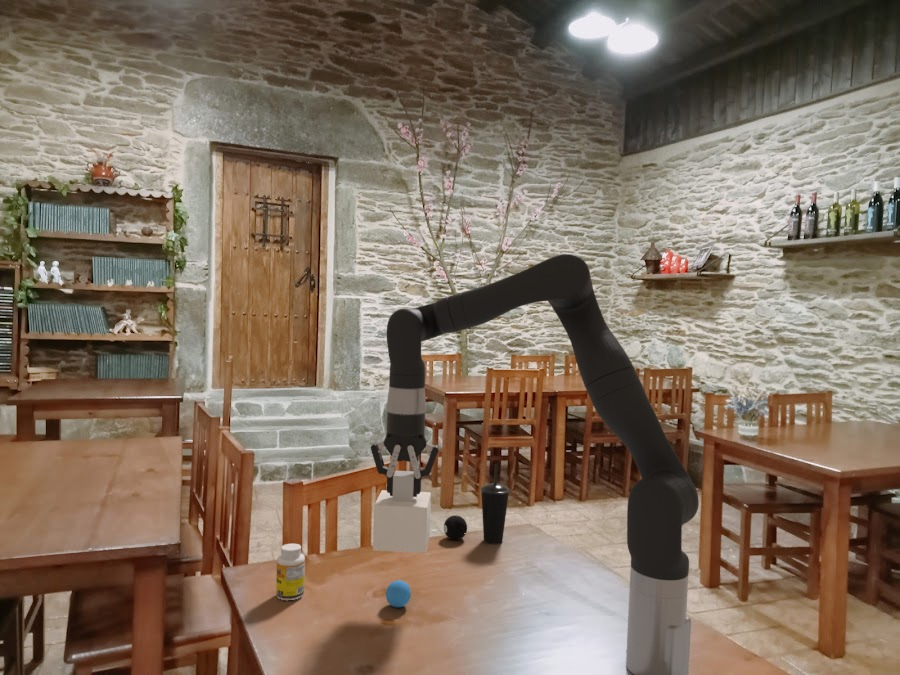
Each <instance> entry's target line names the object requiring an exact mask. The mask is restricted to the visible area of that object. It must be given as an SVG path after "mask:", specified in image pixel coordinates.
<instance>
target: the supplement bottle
mask: <svg viewBox="0 0 900 675" xmlns="http://www.w3.org/2000/svg"><path fill="white" fill-rule="evenodd" d="M305 571H306V557H305V555H304V554H303V553H302V546H301V544H299V543H285V544H283V545H282V546H281V548H280V555H278V556H277V557H276V579H275V580H276V584H275V586H276V588H275V591H276V592H275V593H276V594H275V595H276V598H277V599H279V600H280V599H281V601H283V600H294V601H296V600H295V599H297V600H299V599H301V598H302V597H303V596H304V593H305V577H306V576H305V575H306V574H305V573H306V572H305ZM300 597H301V598H300ZM298 598H299V599H298Z"/></svg>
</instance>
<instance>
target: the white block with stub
mask: <svg viewBox="0 0 900 675" xmlns="http://www.w3.org/2000/svg"><path fill="white" fill-rule="evenodd" d="M414 477H415V476H414V471H413V470H411V471H409V470H395V471H394V475H393V496H390V493H388V492H387V489H386V490H385V489H382V490H381V491H380V493H379V495H378V497H377V499H376V501H375V503H374V505H373V532H372V535H373V536H372V551H377V552H379V551H380V552H396V553H397V552H399V553H400V552H401V553H413V554H414V553H415V554H417V553H418V554H426V553H427V549H428V545H429V540H430V535H431V532H430V531H431V507H432V506H431V504H432V502H431V501H432V492H429V491H420V494H417V497H413V490H414Z"/></svg>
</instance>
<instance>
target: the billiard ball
mask: <svg viewBox="0 0 900 675" xmlns="http://www.w3.org/2000/svg"><path fill="white" fill-rule="evenodd" d="M443 531H444V534H445V535H446V537H447V538H448V537H449V538H448V539H450V540H454V541H458V540H461V539H462V538H464V537H465V536H466V534H467V533H468V532H467V531H468V525H467V522H466V519H464V518H463V516H459V515H451V516H449V517H447V519H445V521H444V524H443ZM464 533H466V534H464Z"/></svg>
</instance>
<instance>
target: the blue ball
mask: <svg viewBox="0 0 900 675" xmlns="http://www.w3.org/2000/svg"><path fill="white" fill-rule="evenodd" d="M411 597H412V590H411V588H410V586H409V584H408V583H407V582H406V581H404V580H399V579H398V580H394V581H392V582H391V583H389V585H387V588H386V590H385V598H386V601H387V603H388V604H389V605H390V606H391V607H393V608H402V607H404V606H406V605H407V604H408V603H409V601H410V599H411Z"/></svg>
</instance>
